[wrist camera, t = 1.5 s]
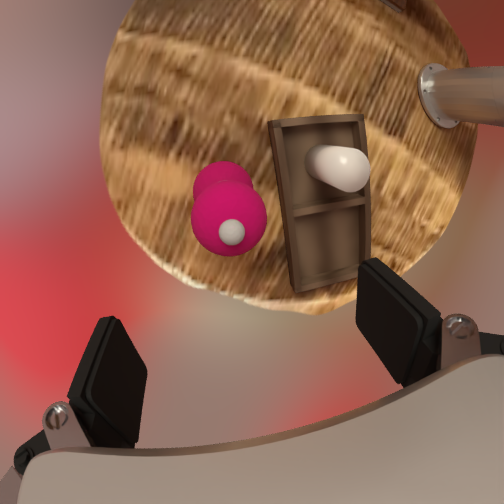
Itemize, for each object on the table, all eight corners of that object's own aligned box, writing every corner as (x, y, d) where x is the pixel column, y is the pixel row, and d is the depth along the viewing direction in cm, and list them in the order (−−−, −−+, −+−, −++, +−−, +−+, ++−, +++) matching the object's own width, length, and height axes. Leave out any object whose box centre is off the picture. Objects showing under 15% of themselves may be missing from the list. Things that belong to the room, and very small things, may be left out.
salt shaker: (335, 142, 34) (368, 146, 26) (338, 176, 37) (371, 189, 28) (301, 146, 34) (328, 150, 26) (306, 181, 36) (333, 195, 28)
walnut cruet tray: (353, 114, 34) (363, 113, 31) (361, 265, 44) (369, 273, 41) (267, 121, 33) (272, 120, 30) (290, 283, 43) (295, 293, 41)
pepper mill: (224, 221, 38) (238, 302, 20) (184, 189, 35) (155, 244, 17) (259, 182, 36) (308, 229, 18) (219, 147, 34) (227, 157, 15)
